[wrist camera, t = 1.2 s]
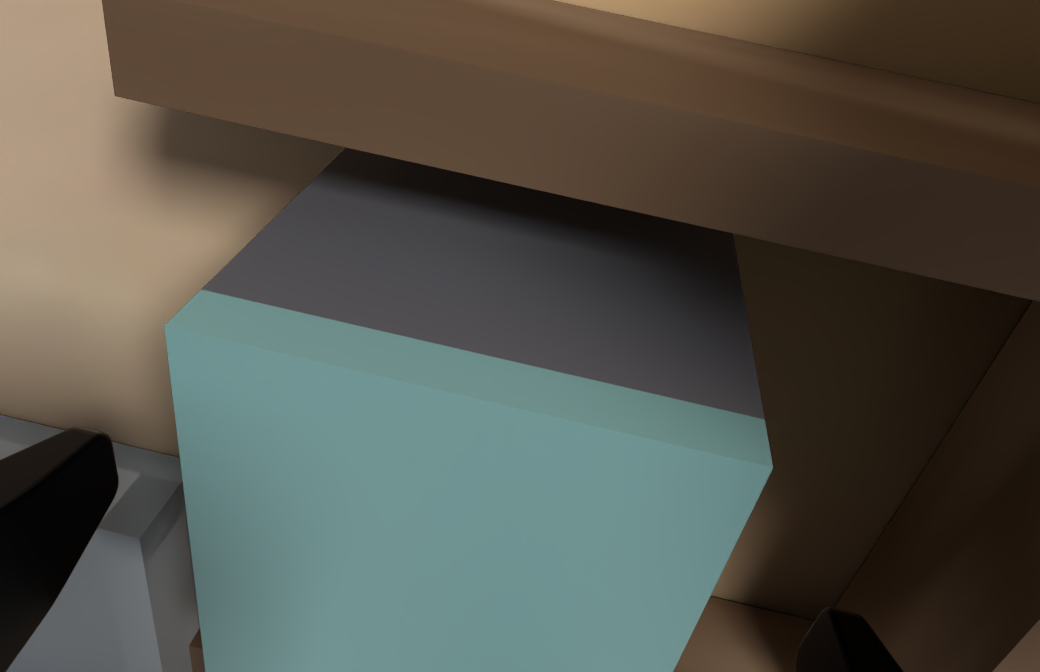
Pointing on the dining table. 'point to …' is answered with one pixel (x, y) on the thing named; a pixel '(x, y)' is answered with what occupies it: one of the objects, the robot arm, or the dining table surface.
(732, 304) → the teal rectangular block
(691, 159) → the bay
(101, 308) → the dining table surface
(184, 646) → the tray
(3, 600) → the robot arm
